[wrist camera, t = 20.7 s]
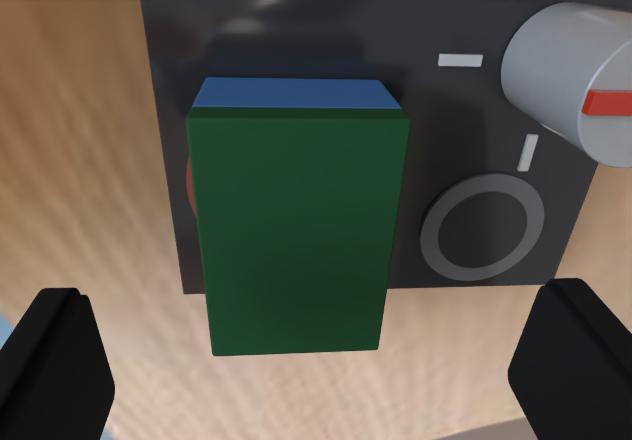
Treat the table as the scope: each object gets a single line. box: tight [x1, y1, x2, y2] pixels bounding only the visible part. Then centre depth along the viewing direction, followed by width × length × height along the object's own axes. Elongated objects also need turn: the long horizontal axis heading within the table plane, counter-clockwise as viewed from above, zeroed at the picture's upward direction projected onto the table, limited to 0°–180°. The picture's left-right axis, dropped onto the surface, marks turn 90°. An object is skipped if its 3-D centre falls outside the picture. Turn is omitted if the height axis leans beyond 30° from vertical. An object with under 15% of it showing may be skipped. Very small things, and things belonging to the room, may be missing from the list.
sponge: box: [186, 77, 412, 356], centre depth 15 cm, size 6×8×4 cm
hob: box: [140, 0, 632, 294], centre depth 17 cm, size 17×13×3 cm
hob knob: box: [501, 2, 632, 168], centre depth 13 cm, size 4×4×5 cm
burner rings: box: [186, 156, 544, 281], centre depth 17 cm, size 14×8×1 cm, turn 88°
